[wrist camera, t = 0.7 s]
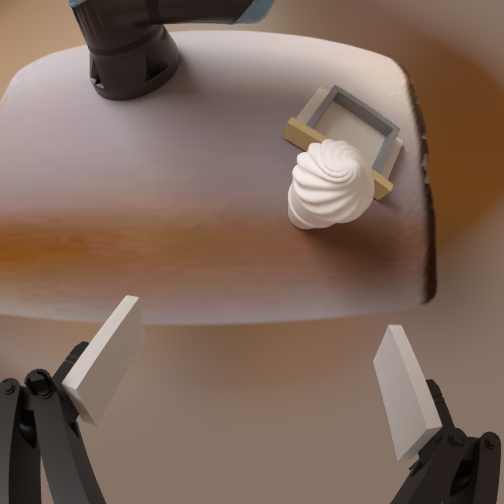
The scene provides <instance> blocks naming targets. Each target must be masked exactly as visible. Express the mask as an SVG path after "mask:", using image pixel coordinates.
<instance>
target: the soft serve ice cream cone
mask: <svg viewBox="0 0 504 504" xmlns="http://www.w3.org/2000/svg"><path fill="white" fill-rule="evenodd" d="M297 164H298V165H296V166H295V167H294V169H293V171H292V174H293V180H292V184H291V186H290V188H289V192H288V201H289V206H288V215H289V218H290V220H291V222H292V223H293V224H294V225H295V226H296V227H298V228H301V229H312V228H326V227H329V226H331V225H333V224H335V223H346V222H350V221H352V220H355V219H356V218H358V217H359V216H360V215H362V213H363V212H364V211H365V210H366V209H367V208H368V207H369V206H370V204H371V202H372V200H373V197H374V192H375V190H374V176H373V171H372V169H371V166H370V165H369V163H368V162H367V160H366V159H365V158H364V155H363V154H362V153H361V152H360V150H358V149H357V148H355V147H353V146H351V145H350V144H349V143H347V142H345V141H336V142H335V141H334V140H331V139H326V140H324V141H323V142H322V143H321V144H320V143H311V144H310V145H309V147H308V151H307V152H302V153H300V154H299V155H298V156H297Z"/></svg>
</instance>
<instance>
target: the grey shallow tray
mask: <svg viewBox="0 0 504 504" xmlns="http://www.w3.org/2000/svg"><path fill="white" fill-rule="evenodd" d="M399 130H400V128H398V127H397V126H396V125H394V124H393V123H392V122H390V121H389V120H388V119H386V118H385V117H383V116H382V115H381V114H379V113H378V112H376V111H375V110H373V109H372V108H371V107H369V106H368V105H366V104H365V103H363V102H362V101H360V100H359V99H357V98H355V97H354V96H352V95H351V94H349V93H348V92H346V91H344V90H343V89H341V88H339V87H338V86H336V85H334V87H333V88H332V89H331V91H328V90H327V89H325V88H323V87H321V86H320V87H319V88H318V90H317V91H316V92H315V94H314V95H313V96H312V97H311V99H310V100H309V101H308V103H307V104H306V105H305V107H304V108H303V109H302V110H301V112H300V113H299V114H298V116H297V117H296V118H294V117H291V118H290V119H289V121H288V122H287V125H286V127H285V130H284V133H283V135H282V136H283V138H285V139H287V140H288V141H290V142H292V143H293V144H295V145H297V146H298V147H300V148H301V149H303V150H305V151H306V152H307V151H308V147H309V145H310V144H311V143H320V144H321V143H322V142H323V141H324V140H326V139H331V140H334V141H335V142H336V141H345V142H347V143H349V144H350V145H351V146H353V147H355V148H357V149H358V150H360V152H361V153H362V154H363V155H364V158H365V159H366V160H367V162H368V163H369V165H370V166H371V169H372V171H373V176H374V190H375V192H374V198H375V199H378V200H379V199H381V198H382V197H384V196H385V195H387V194H388V193H389V192H391V190H392V188H393V184H392V183H391V182H389V181H388V178H389V175H390V173H391V170H392V168H393V166H394V163H395V161H396V158H397V156H398V154H399V151H400V149H401V146H402V143H403V141H402V140H401V139H399V138H398V137H397V135H398V133H399Z"/></svg>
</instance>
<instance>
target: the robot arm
mask: <svg viewBox="0 0 504 504" xmlns="http://www.w3.org/2000/svg"><path fill="white" fill-rule="evenodd" d="M274 1H275V0H69V6H70V7H71V8H72V10H73V12H74V15H75V17H76V20H77V22H78V24H79V27H80V30H81V32H82V34H83V37H84V39H85V41H86V44H87V46H88V48H89V51H90V79H91V82H92V84H93V86H94V88H95V90H96V91H97V93H98V94H99V95H101V96H103V97H105V98H108V99H112V100H126V99H132V98H136V97H139V96H142V95H145V94H147V93H149V92H151V91H153V90H155V89H157V88H158V87H160V86H161V85H163V84H164V83H165V82H166V81H167V80H169V79H170V77H171V76H172V75H173V74H174V72H175V71H176V69H177V66H178V63H179V56H178V49H177V46H176V44H175V42H174V40H173V39H172V37H171V36H170V34H169V33H168V31H167V30H166V29H165V27H164V25H163V24H179V23H180V24H181V23H216V24H230V25H233V24H253V23H258V22H260V21H262V20H263V19H264V18H265V17H266V16H267V14H268V13H269V11H270V9H271V7H272V5H273V3H274ZM145 337H146V335H145V330H144V324H143V318H142V312H141V306H140V300H139V297H134V296H128V295H126V297H125V298H124V299H123V300H122V302H121V303H120V304H119V306H118V307H117V308H116V309H115V311H114V312H113V313H112V315H111V316H110V317H109V318H108V320H107V321H106V322H105V324H104V325H103V326H102V328H101V329H100V330H99V332H98V333H97V334H96V336H95V337H94V338H93V340H92V341H91V342H90V343H88V342H84V341H83V342H81V343H80V344H78V345H77V346H75V347H74V349H73V350H72V351H71V353H70V355H68V357H67V358H66V359H65V361H64V362H63V364H62V365H61V366H60V367H59V369H58V370H57V372H56V373H55V374H54V376H53V377H52V378H51V376H50V374H49V373H48V372H47V371H46V370H43V369H36V370H33V371H31V372H30V373H29V374H27V376H26V378H25V382H24V383H25V385H26V387H23V386H21V385H20V384H19V382H18V381H17V380H16V379H14V378H7V379H5V380H3V381H2V382H1V383H0V504H42V503H41V481H40V480H41V479H40V460H41V458H40V457H41V456H42V461H43V465H44V469H45V473H46V477H47V481H48V484H49V488H50V492H51V495H52V498H53V501H54V504H106V502H105V500H104V497H103V495H102V493H101V490H100V488H99V485H98V483H97V481H96V478H95V475H94V473H93V470H92V467H91V464H90V461H89V459H88V456H87V453H86V450H85V447H84V443H83V440H82V436H81V433H80V430H79V426H78V423H77V421H76V419H77V417H78V415H80V417H81V418H82V420H83V421H84V422H86V423H89V424H92V425H94V426H97V425H98V424H99V422H100V420H101V418H102V416H103V414H104V412H105V410H106V407H107V406H108V404H109V402H110V401H111V399H112V397H113V395H114V393H115V391H116V389H117V387H118V386H119V384H120V382H121V380H122V378H123V376H124V374H125V372H126V371H127V369H128V367H129V365H130V364H131V362H132V360H133V358H134V356H135V355H136V353H137V351H138V349H139V348H140V346H141V344H142V342H143V341H144V339H145ZM373 363H374V367H375V370H376V374H377V378H378V381H379V384H380V389H381V392H382V396H383V400H384V404H385V408H386V411H387V417H388V420H389V425H390V429H391V434H392V438H393V443H394V448H395V453H396V457H397V461H402V460H408V459H412V458H413V457H414V456H415V455H416V454H417V453H418V455H419V460H417V461H416V462H415V463H414V464H413V465H412V466H411V467H410V468H409V470H411V469H412V468H413V469H412V470H411V472H410V474H409V476H408V477H407V479H406V480H405V482H404V484H403V485H402V487H401V488H400V490H399V491H398V493H397V494H396V496H395V498H394V499H393V500H392V502H391V503H390V504H441V503H442V504H496V501H497V493H498V485H499V475H500V460H501V442H500V439H499V437H498V436H497V435H496V434H495V433H493V432H486V433H484V434H483V435H482V436H481V437H480V438H474V437H467V436H466V435H465V433H464V432H463V431H462V430H461V429H458V428H455V426H454V424H453V421H452V418H451V416H450V413H449V411H448V408H447V406H446V403H445V401H444V398H443V397H442V393H441V391H440V388H439V386H438V385H437V384H436V383H435V382H434V381H433V380H432V379H430V380H425V378H424V376H423V373H422V371H421V369H420V366H419V364H418V362H417V359H416V357H415V354H414V352H413V350H412V348H411V345H410V343H409V341H408V339H407V337H406V335H405V332H404V330H403V328H402V326H401V325H389V326H388V328H387V330H386V333H385V335H384V338H383V340H382V343H381V345H380V347H379V350H378V352H377V354H376V356H375V359H374V361H373Z"/></svg>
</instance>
